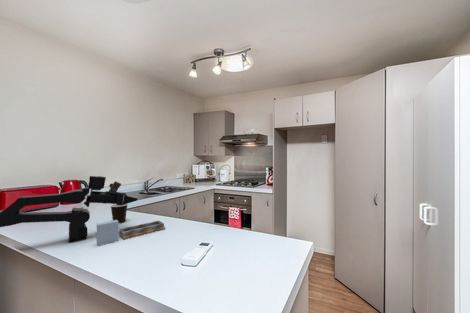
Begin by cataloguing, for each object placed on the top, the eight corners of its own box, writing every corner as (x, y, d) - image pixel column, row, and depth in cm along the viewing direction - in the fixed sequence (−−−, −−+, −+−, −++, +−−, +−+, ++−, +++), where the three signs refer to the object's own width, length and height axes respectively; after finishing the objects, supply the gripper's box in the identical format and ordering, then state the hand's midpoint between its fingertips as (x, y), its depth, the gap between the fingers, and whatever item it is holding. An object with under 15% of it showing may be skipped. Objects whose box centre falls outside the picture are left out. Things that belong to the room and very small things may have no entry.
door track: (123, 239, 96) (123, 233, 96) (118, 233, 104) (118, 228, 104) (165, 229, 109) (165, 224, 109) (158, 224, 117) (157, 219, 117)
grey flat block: (98, 246, 90) (97, 225, 90) (96, 243, 92) (96, 223, 92) (118, 240, 95) (118, 221, 95) (117, 238, 98) (116, 219, 97)
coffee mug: (122, 224, 118) (122, 206, 118) (107, 224, 118) (107, 206, 118) (132, 218, 130) (132, 202, 130) (119, 218, 130) (119, 202, 130)
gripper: (106, 180, 97) (141, 184, 106) (103, 181, 112) (134, 184, 121) (102, 204, 95) (138, 206, 104) (99, 202, 110) (131, 204, 119)
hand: (135, 199), depth 112 cm, fingers open, 9 cm apart
